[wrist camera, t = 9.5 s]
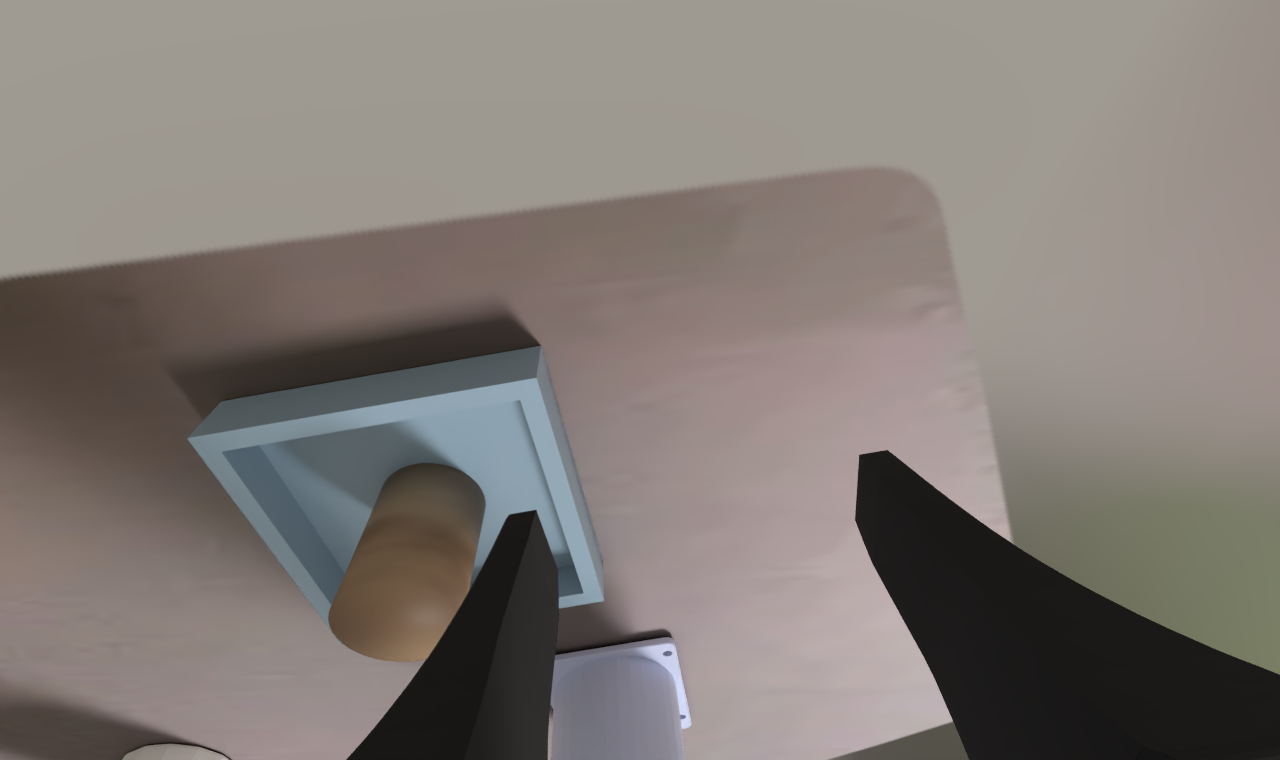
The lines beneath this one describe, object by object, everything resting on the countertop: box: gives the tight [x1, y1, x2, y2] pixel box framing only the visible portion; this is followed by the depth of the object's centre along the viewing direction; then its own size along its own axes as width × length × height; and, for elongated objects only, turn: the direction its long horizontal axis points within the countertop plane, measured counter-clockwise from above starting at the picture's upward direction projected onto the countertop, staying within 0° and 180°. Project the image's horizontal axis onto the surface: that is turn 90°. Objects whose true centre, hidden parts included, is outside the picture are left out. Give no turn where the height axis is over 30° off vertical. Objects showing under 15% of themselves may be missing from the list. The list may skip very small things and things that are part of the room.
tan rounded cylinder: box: [328, 463, 486, 662], centre depth 23 cm, size 4×4×6 cm
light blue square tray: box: [187, 346, 604, 644], centre depth 25 cm, size 13×13×2 cm
